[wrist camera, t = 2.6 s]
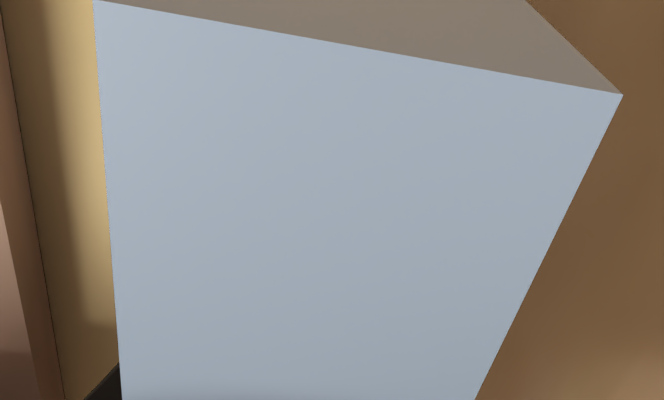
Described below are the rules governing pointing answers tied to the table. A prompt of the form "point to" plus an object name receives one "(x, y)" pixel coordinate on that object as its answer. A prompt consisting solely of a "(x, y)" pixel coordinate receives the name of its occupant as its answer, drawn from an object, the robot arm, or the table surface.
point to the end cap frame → (21, 269)
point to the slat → (333, 189)
